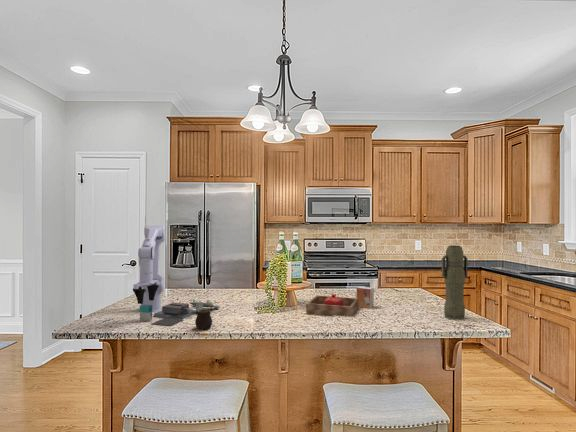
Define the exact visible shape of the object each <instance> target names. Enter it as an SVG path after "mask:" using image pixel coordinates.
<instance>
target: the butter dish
mask: <svg viewBox="0 0 576 432" xmlns="http://www.w3.org/2000/svg"><path fill="white" fill-rule="evenodd" d="M337 297H338V296H337V295H336V294H335V293H332V294H331V297H329V298H326V299H325V300H324V305H337V306H344V304H343V300H342V299H340V298H337Z"/></svg>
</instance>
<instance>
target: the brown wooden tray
mask: <svg viewBox="0 0 576 432" xmlns="http://www.w3.org/2000/svg"><path fill="white" fill-rule="evenodd" d="M329 297H332V296H328V295H316V296H314V297H313V298H312V299H310V300H308V302H306V303H305V313H306V314H307V315H319V316H327V315H328V316H329V317H334V316H343V317H353V316H354V314H355V312H357V310H359V308H360V307H359V298H356V297H344V296H342V297H341V296H336V297H337V298H340V299H342V300H343V304H344V306H337V305H324V300H325V299H326V298H329Z"/></svg>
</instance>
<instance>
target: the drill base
mask: <svg viewBox="0 0 576 432" xmlns="http://www.w3.org/2000/svg"><path fill="white" fill-rule="evenodd" d="M196 314H197V311H185V312H183V313H180V314H170V313H162V310H160V311H157V312H153V317H154V318H155V317H156V318H162V319H164V318H170V319H179V320H184V319H187V318H190V317H192V316H194V315H196ZM189 316H190V317H189Z"/></svg>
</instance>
